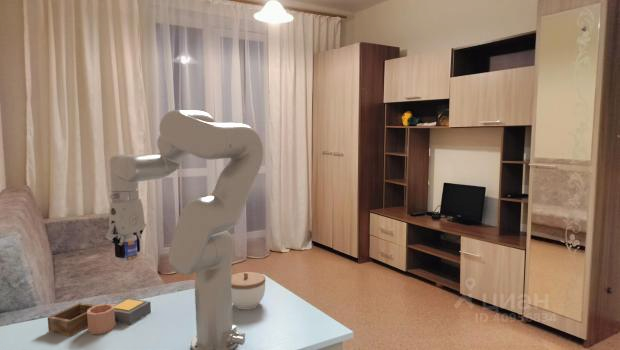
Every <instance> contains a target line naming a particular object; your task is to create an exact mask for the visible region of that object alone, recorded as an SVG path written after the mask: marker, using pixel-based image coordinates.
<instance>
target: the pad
mask: <svg viewBox="0 0 620 350" xmlns="http://www.w3.org/2000/svg"><path fill="white" fill-rule="evenodd" d="M121 302H122V301H121ZM119 303H120V302H119ZM117 304H118V303H117ZM142 304H144V302H141V301H135V300H129V299H128V300H126V301H124V302H122V303H120V304H118V305H116V304H115V305H116V306H114V309H116V310H122V311H128V312H129V311H131V310H133V309H135V308H137V307H139V306H140V305H142Z"/></svg>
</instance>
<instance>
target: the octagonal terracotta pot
mask: <svg viewBox="0 0 620 350" xmlns="http://www.w3.org/2000/svg"><path fill="white" fill-rule="evenodd" d="M114 305H115V304H111V303H102V304H96V306H94V307H91V308H89V309H88V310H87V320H88V328H87V331H88V333H89V334H90V335H102V334H106V333H109V332H111V331H113V330H115V328H116V322H115V311H114Z"/></svg>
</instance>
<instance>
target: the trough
mask: <svg viewBox="0 0 620 350" xmlns="http://www.w3.org/2000/svg"><path fill="white" fill-rule="evenodd" d="M96 305H97V304H96ZM96 305H95V304H91V303H90V304H89V303H84V302H78V303H76V304H74V305H72V306H70V307H68V308H66V309H64V310H61V311H59V312H57V313H55V314H53V315H50V316H48V317H47V326H48V327H47V329H48V332H49V333H52V334H57V335H62V336H67V337H72V336H74V335H76V334H78V333H80V332H82V331H84V330H85V329H86V330H87V329H88V320H87V310H88V309H89V308H91V307H94V306H96Z"/></svg>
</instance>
